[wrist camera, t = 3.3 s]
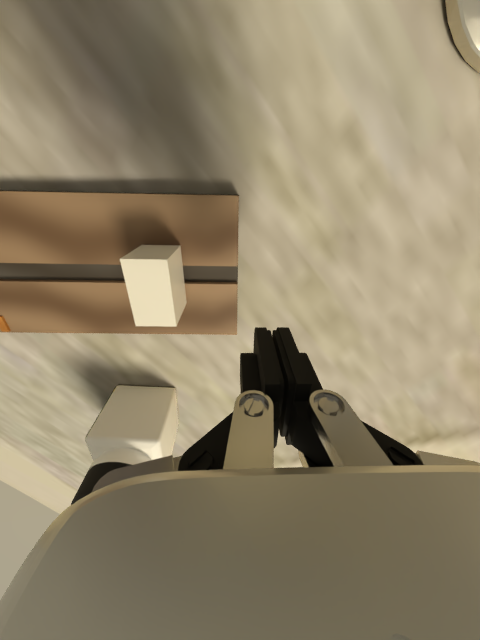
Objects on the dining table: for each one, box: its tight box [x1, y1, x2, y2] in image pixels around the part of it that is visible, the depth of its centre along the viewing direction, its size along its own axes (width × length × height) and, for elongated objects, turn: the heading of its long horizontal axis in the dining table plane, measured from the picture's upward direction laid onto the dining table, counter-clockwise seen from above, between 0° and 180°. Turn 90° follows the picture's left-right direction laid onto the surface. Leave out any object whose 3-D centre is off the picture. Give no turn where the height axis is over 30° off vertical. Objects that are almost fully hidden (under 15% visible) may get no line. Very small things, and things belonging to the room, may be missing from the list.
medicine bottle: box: [71, 385, 179, 505], centre depth 25 cm, size 7×7×12 cm
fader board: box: [0, 190, 239, 335], centre depth 20 cm, size 12×28×2 cm, turn 89°
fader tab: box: [120, 245, 187, 327], centre depth 18 cm, size 5×3×4 cm, turn 179°
